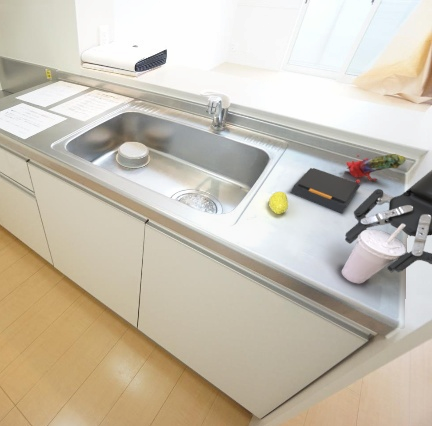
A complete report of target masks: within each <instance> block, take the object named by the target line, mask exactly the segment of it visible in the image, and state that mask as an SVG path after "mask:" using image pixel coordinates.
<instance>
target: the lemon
mask: <svg viewBox="0 0 432 426" xmlns="http://www.w3.org/2000/svg"><path fill="white" fill-rule="evenodd" d="M268 205H269V208H270V210H271V211H272V212H273V213H275V214H278V215H280V214H283V213H285V212H286V211H287V210H288V209H289V202H288V196H287V193H286V192H284V191H275V192H274V193H272V195H271V196H270V197H269V200H268Z"/></svg>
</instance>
